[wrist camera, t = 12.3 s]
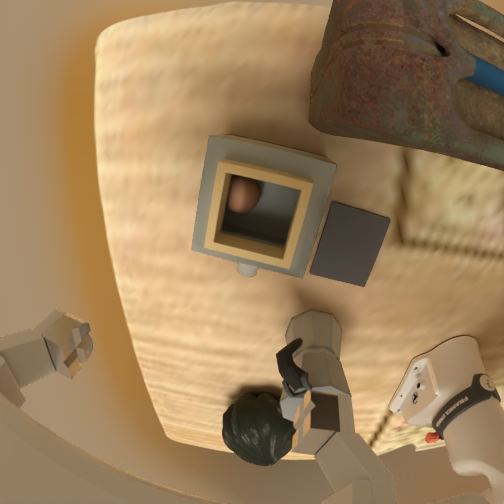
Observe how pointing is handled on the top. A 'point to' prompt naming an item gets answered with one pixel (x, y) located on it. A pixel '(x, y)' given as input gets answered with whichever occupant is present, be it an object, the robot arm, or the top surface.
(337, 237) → the mat
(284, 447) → the squash
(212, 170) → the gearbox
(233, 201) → the bead
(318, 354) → the coffee maker
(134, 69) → the top surface
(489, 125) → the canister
